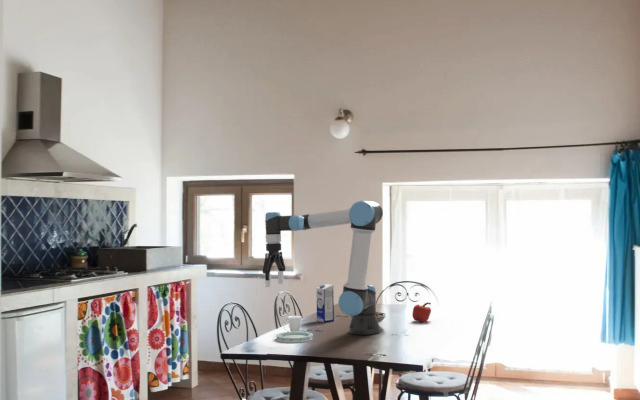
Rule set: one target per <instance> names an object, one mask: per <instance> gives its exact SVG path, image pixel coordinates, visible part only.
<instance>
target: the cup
mask: <svg viewBox="0 0 640 400" xmlns="http://www.w3.org/2000/svg"><path fill="white" fill-rule="evenodd" d="M286 320H288V327H289V330H290V331H289V330H288V329H287V327H286V326H285V323H286ZM301 324H302V315H291V316H290V315H289V316H288V317H287V318H285V319H284V320H283V323H282V326H283V328H284V330H285V332H297V331H299V332H301V331H300V330H301V326H302V325H301Z"/></svg>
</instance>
